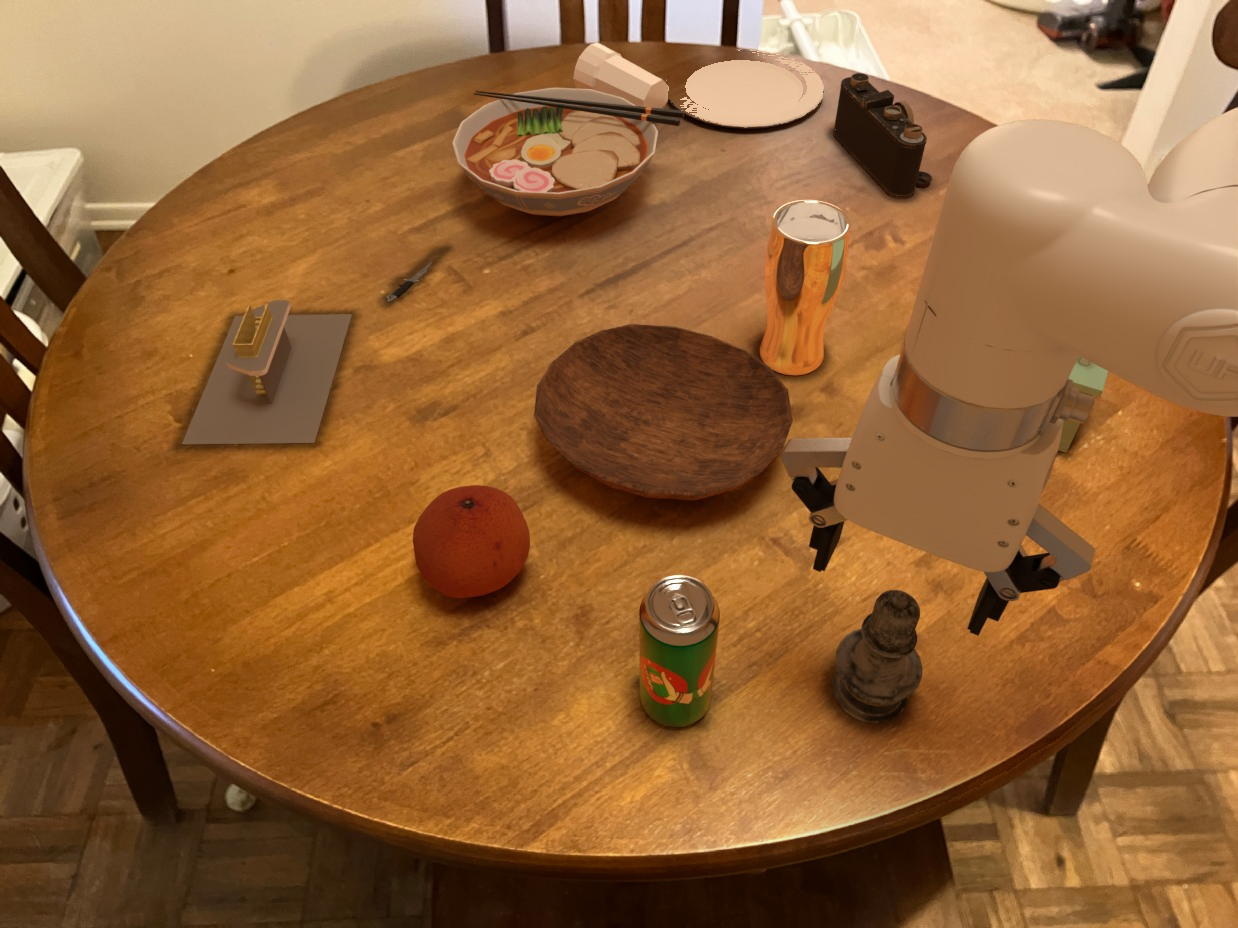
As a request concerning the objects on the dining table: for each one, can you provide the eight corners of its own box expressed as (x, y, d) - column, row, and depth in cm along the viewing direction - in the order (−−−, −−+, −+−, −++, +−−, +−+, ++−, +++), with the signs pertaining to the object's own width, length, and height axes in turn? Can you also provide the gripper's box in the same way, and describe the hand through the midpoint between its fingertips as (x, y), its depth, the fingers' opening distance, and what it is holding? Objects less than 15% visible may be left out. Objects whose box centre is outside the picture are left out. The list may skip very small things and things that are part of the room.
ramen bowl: (418, 231, 108) (405, 165, 102) (499, 131, 122) (491, 68, 116) (632, 271, 102) (631, 204, 96) (690, 161, 117) (692, 96, 111)
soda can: (693, 657, 71) (700, 559, 62) (722, 716, 68) (734, 622, 59) (629, 680, 70) (626, 584, 61) (656, 741, 67) (658, 649, 58)
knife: (441, 250, 106) (441, 246, 106) (454, 255, 105) (454, 251, 105) (379, 300, 100) (378, 296, 100) (392, 305, 99) (391, 302, 99)
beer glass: (795, 390, 90) (817, 255, 78) (739, 353, 93) (753, 220, 82) (842, 355, 93) (870, 221, 82) (787, 321, 96) (806, 189, 85)
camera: (941, 191, 111) (958, 126, 105) (889, 202, 110) (903, 137, 104) (873, 123, 122) (885, 60, 116) (825, 132, 121) (834, 70, 115)
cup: (634, 100, 118) (568, 68, 122) (644, 137, 124) (581, 105, 128) (667, 62, 119) (600, 31, 123) (676, 101, 125) (612, 70, 129)
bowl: (727, 569, 76) (732, 530, 72) (495, 471, 84) (489, 431, 80) (819, 414, 88) (827, 373, 84) (608, 339, 95) (606, 299, 91)
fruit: (504, 509, 81) (493, 443, 75) (550, 586, 75) (542, 521, 69) (403, 550, 78) (384, 485, 72) (444, 633, 73) (426, 570, 67)
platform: (181, 444, 86) (153, 391, 82) (235, 315, 98) (214, 262, 94) (314, 442, 86) (294, 389, 81) (352, 314, 98) (337, 260, 93)
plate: (850, 85, 129) (852, 72, 128) (775, 154, 118) (777, 141, 117) (715, 47, 137) (716, 35, 136) (634, 109, 126) (633, 97, 125)
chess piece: (874, 743, 66) (910, 651, 57) (810, 684, 69) (835, 588, 60) (929, 693, 69) (971, 597, 60) (865, 639, 72) (896, 540, 63)
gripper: (1175, 392, 46) (1056, 594, 59) (831, 287, 52) (790, 493, 64) (1152, 499, 42) (1029, 692, 55) (778, 372, 47) (746, 575, 60)
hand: (900, 584), depth 60 cm, fingers open, 9 cm apart
